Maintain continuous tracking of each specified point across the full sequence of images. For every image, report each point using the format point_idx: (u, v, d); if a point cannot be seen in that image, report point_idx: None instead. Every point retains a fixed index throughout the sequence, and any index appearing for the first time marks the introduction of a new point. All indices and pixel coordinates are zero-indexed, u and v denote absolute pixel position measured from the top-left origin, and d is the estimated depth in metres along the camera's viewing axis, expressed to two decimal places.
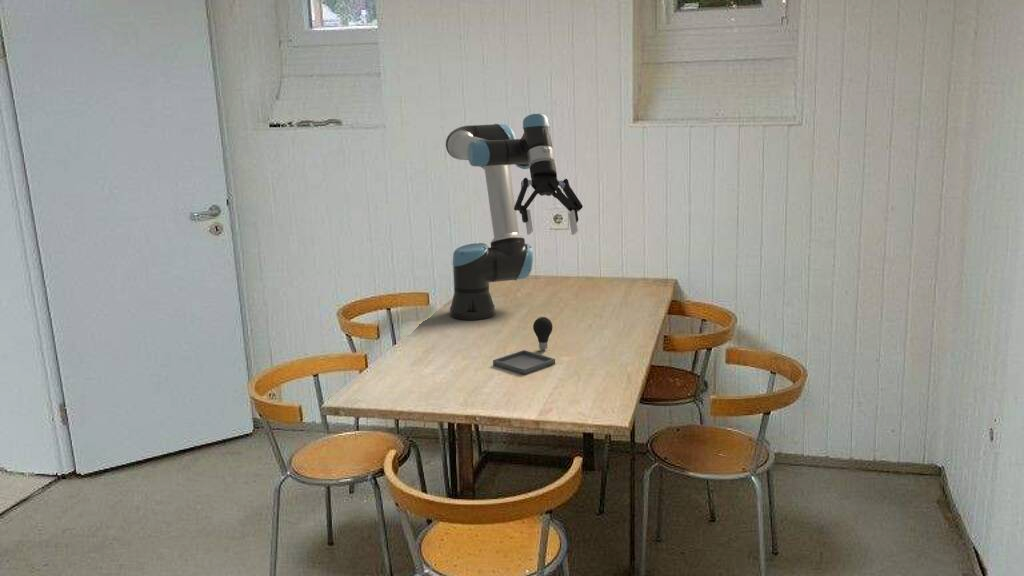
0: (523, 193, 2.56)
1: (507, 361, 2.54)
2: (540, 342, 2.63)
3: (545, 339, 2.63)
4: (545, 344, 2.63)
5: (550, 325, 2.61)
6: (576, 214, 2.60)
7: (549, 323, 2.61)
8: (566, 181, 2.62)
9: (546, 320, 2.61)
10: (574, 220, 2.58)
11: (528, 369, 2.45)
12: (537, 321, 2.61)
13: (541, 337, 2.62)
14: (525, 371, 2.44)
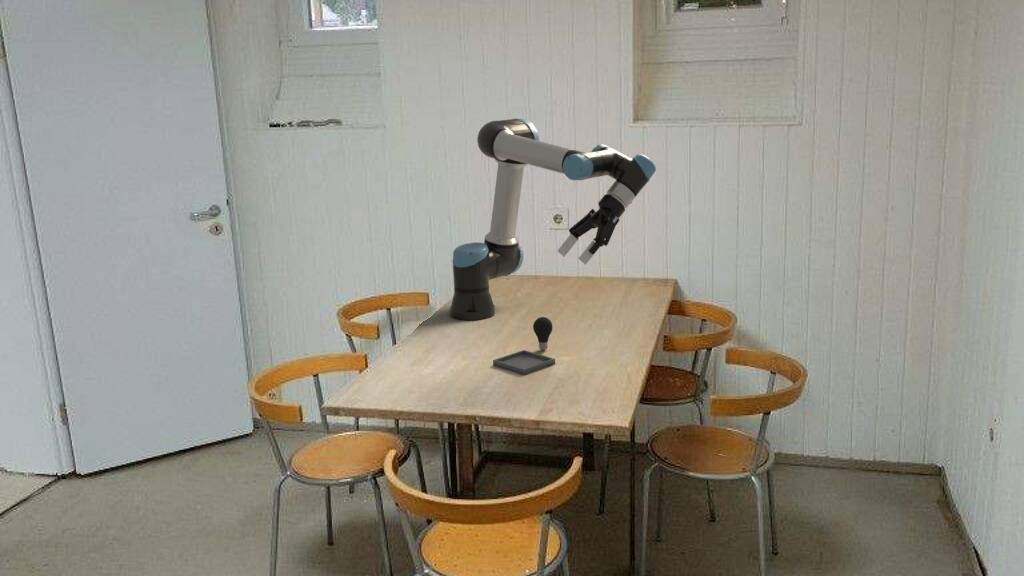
0: None
1: (507, 361, 2.54)
2: (540, 342, 2.63)
3: (545, 339, 2.63)
4: (545, 344, 2.63)
5: (550, 325, 2.61)
6: None
7: (549, 323, 2.61)
8: None
9: (546, 320, 2.61)
10: None
11: (528, 369, 2.45)
12: (537, 321, 2.61)
13: (541, 337, 2.62)
14: (525, 371, 2.44)
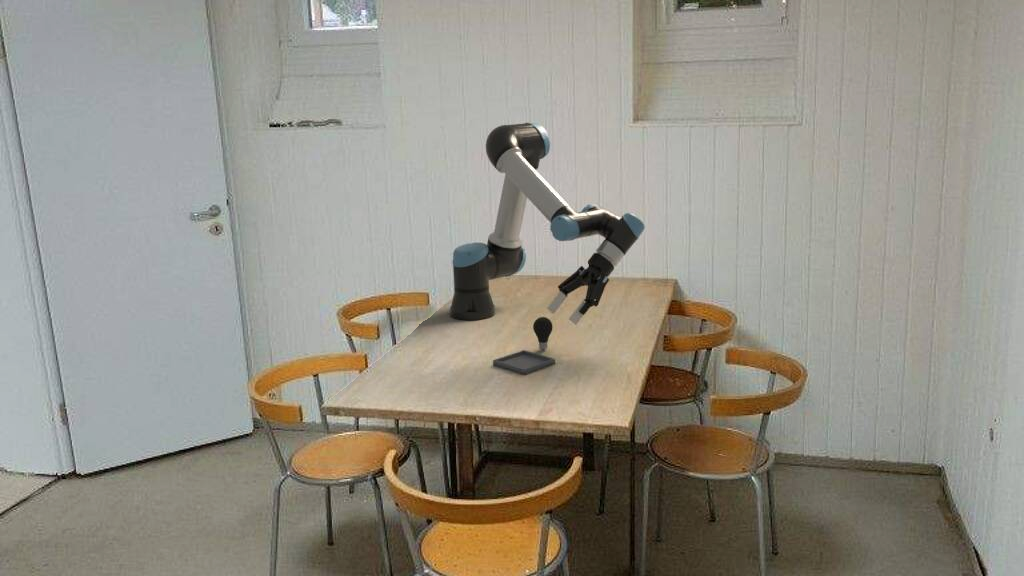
0: None
1: (507, 361, 2.54)
2: (540, 342, 2.63)
3: (545, 339, 2.63)
4: (545, 344, 2.63)
5: (550, 325, 2.61)
6: None
7: (549, 323, 2.61)
8: None
9: (546, 320, 2.61)
10: None
11: (528, 369, 2.45)
12: (537, 321, 2.61)
13: (541, 337, 2.62)
14: (525, 371, 2.44)
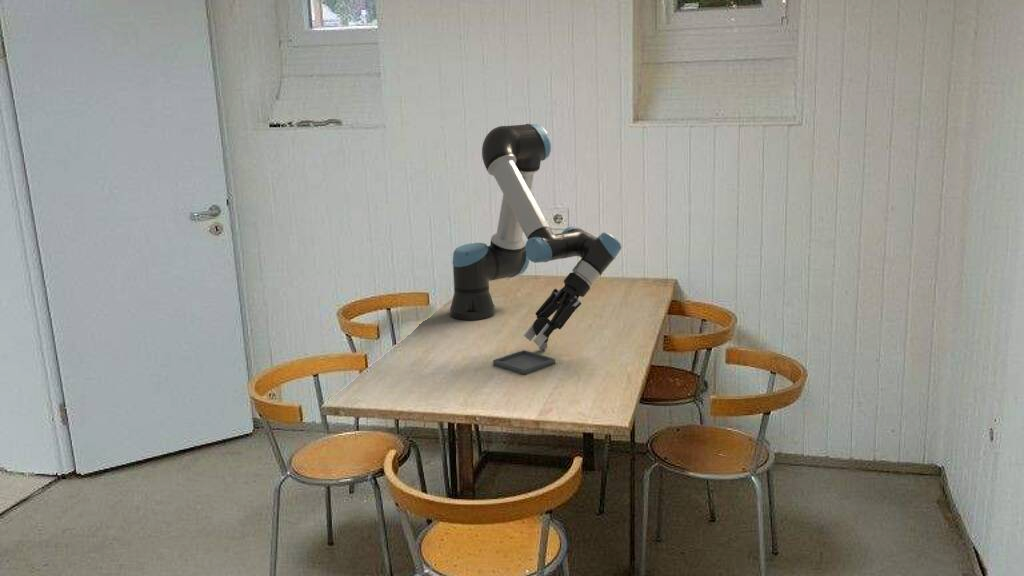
0: None
1: (507, 361, 2.54)
2: None
3: None
4: (545, 344, 2.63)
5: None
6: None
7: None
8: None
9: (546, 320, 2.61)
10: None
11: (528, 369, 2.45)
12: (537, 321, 2.61)
13: None
14: (525, 371, 2.44)
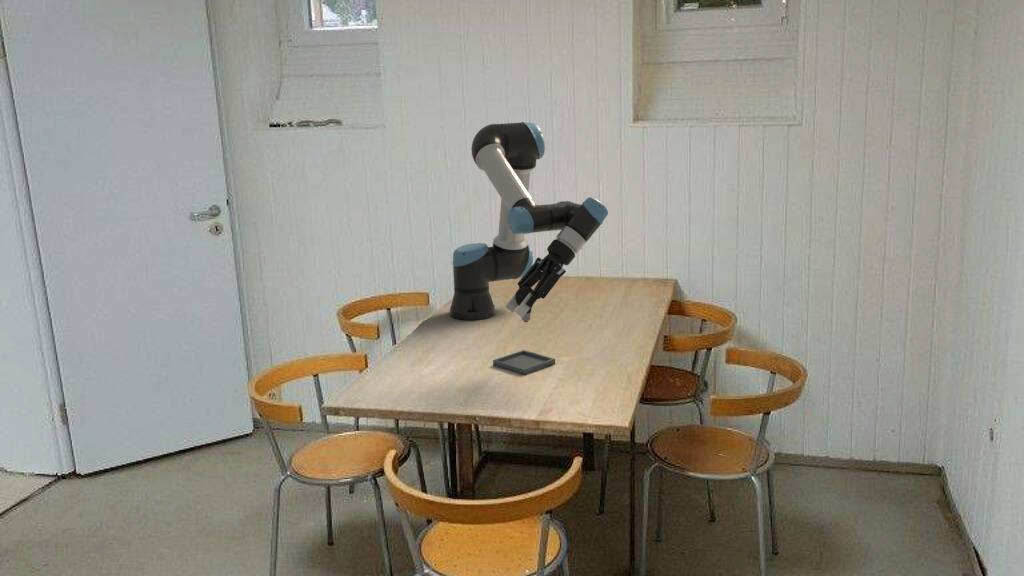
0: None
1: (507, 361, 2.54)
2: None
3: (528, 310, 2.48)
4: (528, 315, 2.49)
5: None
6: None
7: None
8: None
9: (529, 289, 2.47)
10: None
11: (528, 369, 2.45)
12: (519, 291, 2.47)
13: None
14: (525, 371, 2.44)
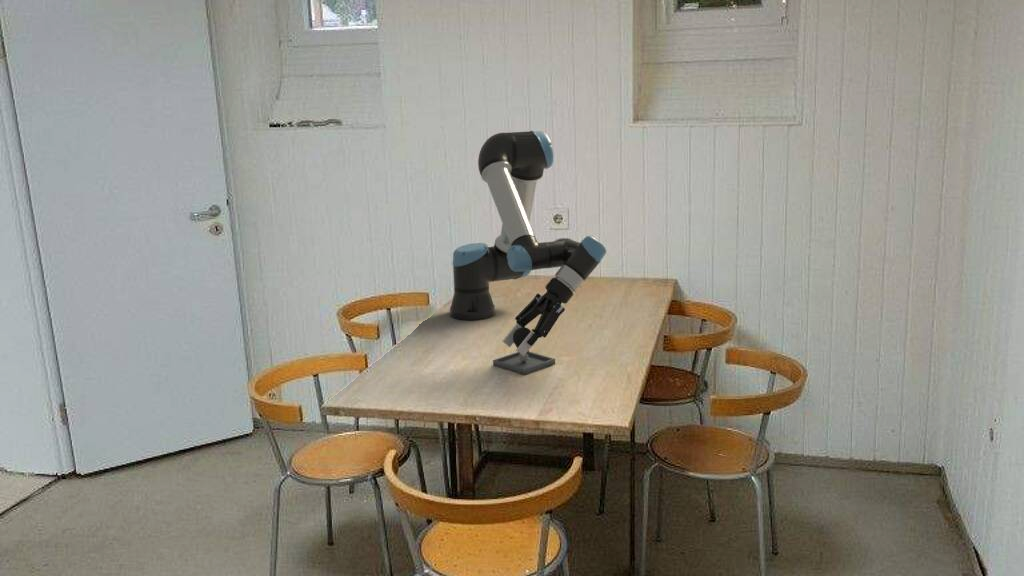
0: None
1: (507, 361, 2.54)
2: (520, 354, 2.51)
3: None
4: (526, 356, 2.51)
5: None
6: None
7: None
8: None
9: (526, 330, 2.49)
10: None
11: (528, 369, 2.45)
12: (517, 331, 2.49)
13: None
14: (525, 371, 2.44)
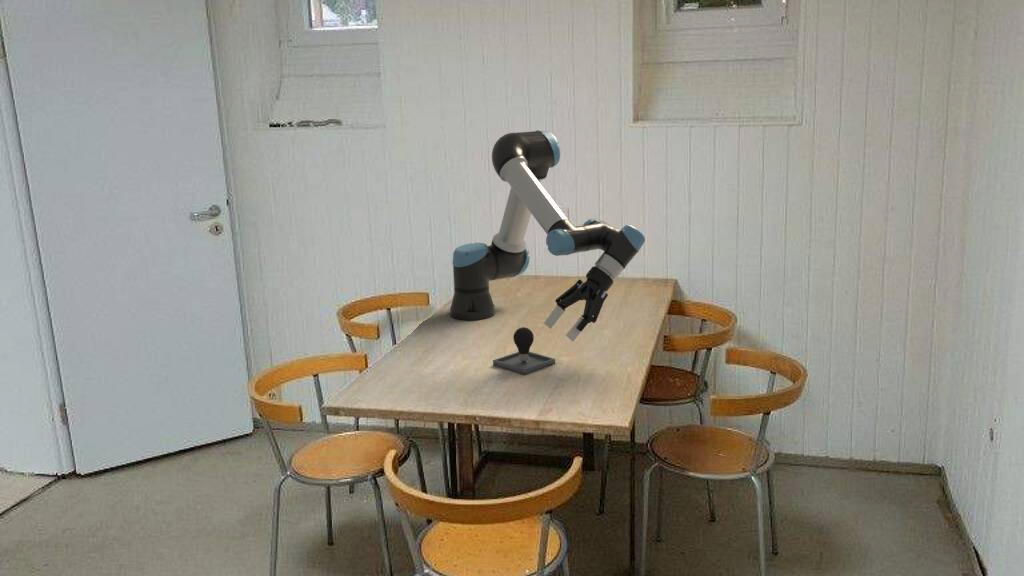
0: None
1: (507, 361, 2.54)
2: (521, 354, 2.51)
3: (526, 351, 2.50)
4: (526, 356, 2.51)
5: (531, 336, 2.49)
6: None
7: (530, 334, 2.49)
8: None
9: (527, 331, 2.49)
10: None
11: (528, 369, 2.45)
12: (517, 332, 2.49)
13: (522, 348, 2.50)
14: (525, 371, 2.44)
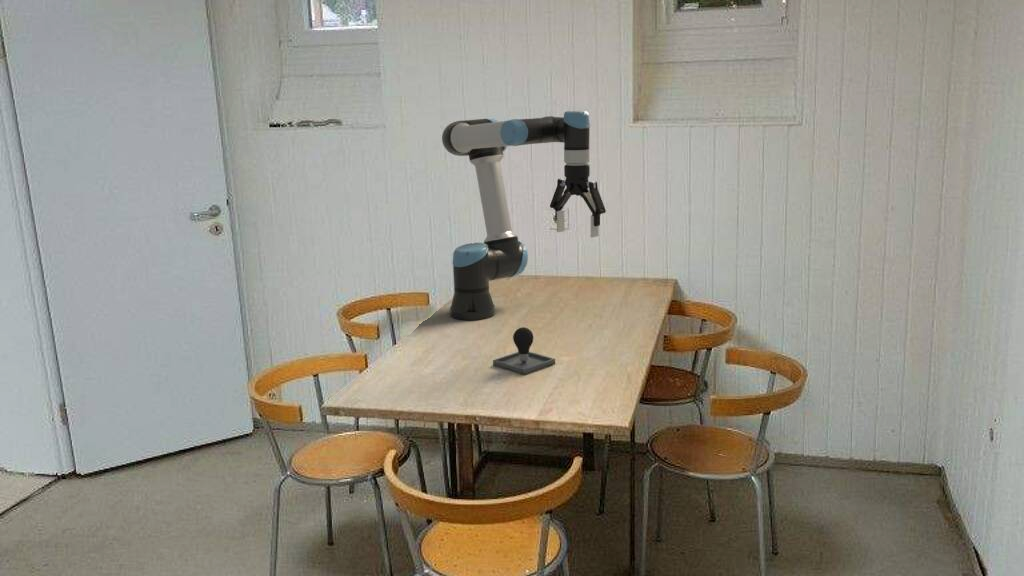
0: None
1: (507, 361, 2.54)
2: (520, 354, 2.51)
3: (526, 351, 2.50)
4: (526, 356, 2.51)
5: (531, 336, 2.49)
6: None
7: (530, 334, 2.49)
8: None
9: (526, 331, 2.49)
10: None
11: (528, 369, 2.45)
12: (517, 332, 2.49)
13: (521, 349, 2.50)
14: (525, 371, 2.44)
